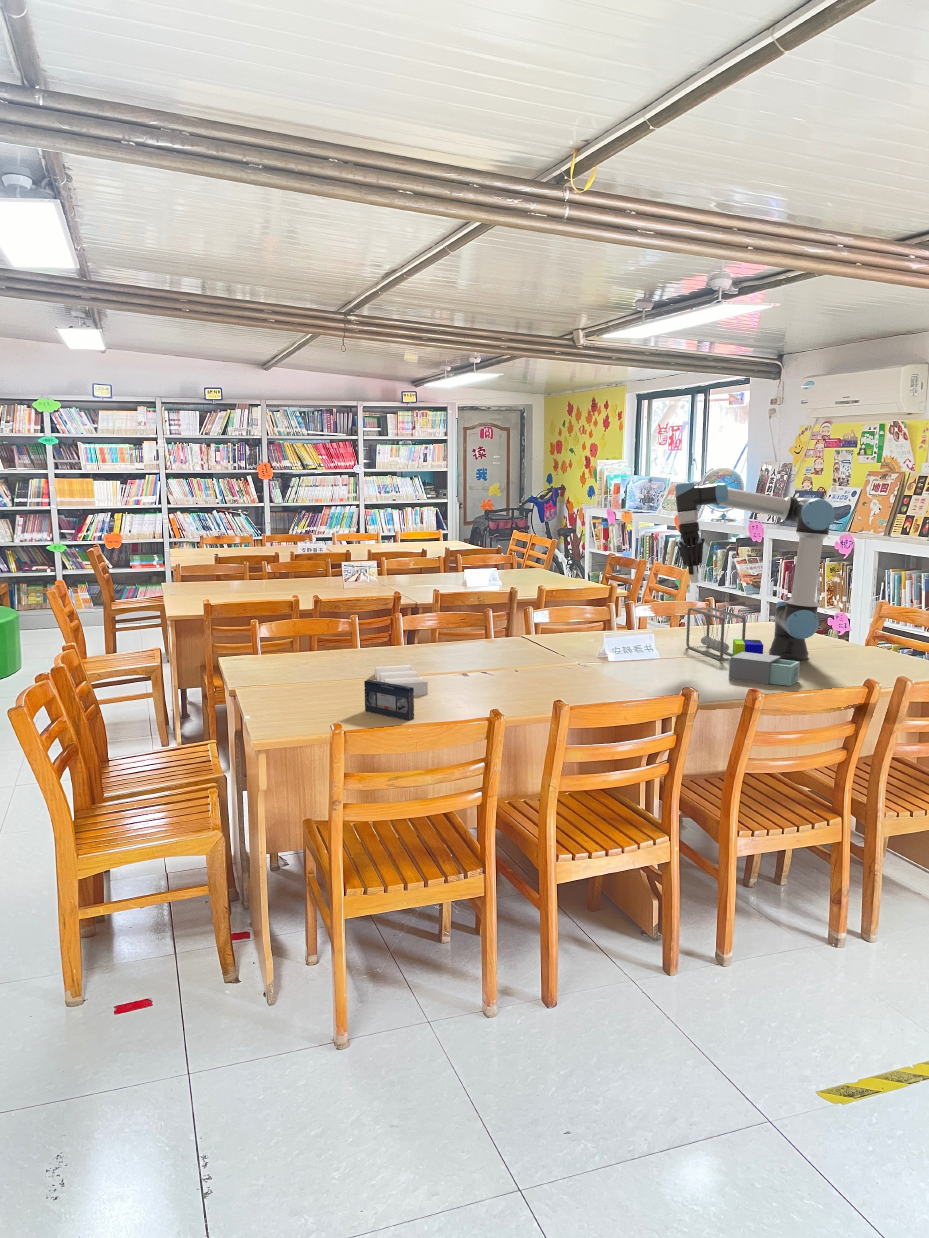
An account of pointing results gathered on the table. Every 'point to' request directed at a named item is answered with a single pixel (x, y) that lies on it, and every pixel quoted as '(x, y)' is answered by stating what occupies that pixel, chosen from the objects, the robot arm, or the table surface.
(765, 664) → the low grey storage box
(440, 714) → the table surface
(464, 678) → the table surface
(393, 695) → the vhs cassette tape
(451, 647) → the table surface
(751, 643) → the puzzle toy
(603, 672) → the table surface
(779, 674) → the sliding matchbox
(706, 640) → the newton's cradle
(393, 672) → the file organizer
